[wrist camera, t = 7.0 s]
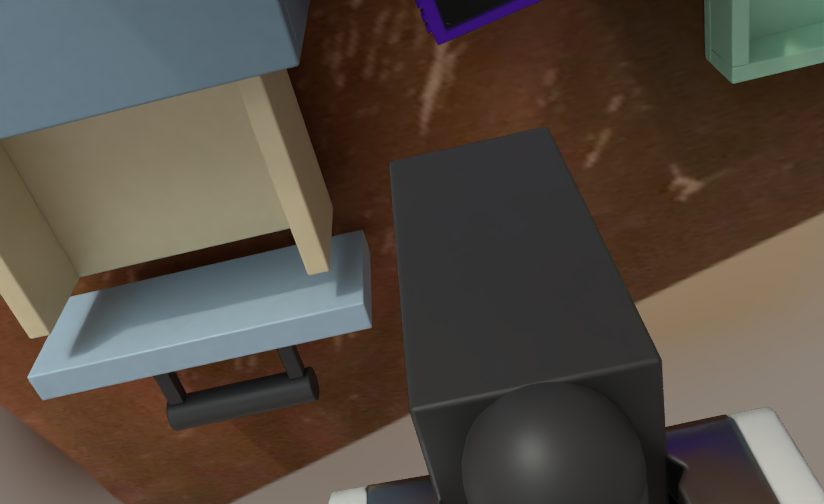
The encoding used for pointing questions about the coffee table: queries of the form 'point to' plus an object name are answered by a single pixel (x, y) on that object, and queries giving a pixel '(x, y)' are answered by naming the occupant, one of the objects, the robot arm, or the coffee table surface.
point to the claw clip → (521, 333)
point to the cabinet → (133, 53)
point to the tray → (763, 36)
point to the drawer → (178, 247)
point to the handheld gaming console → (464, 15)
